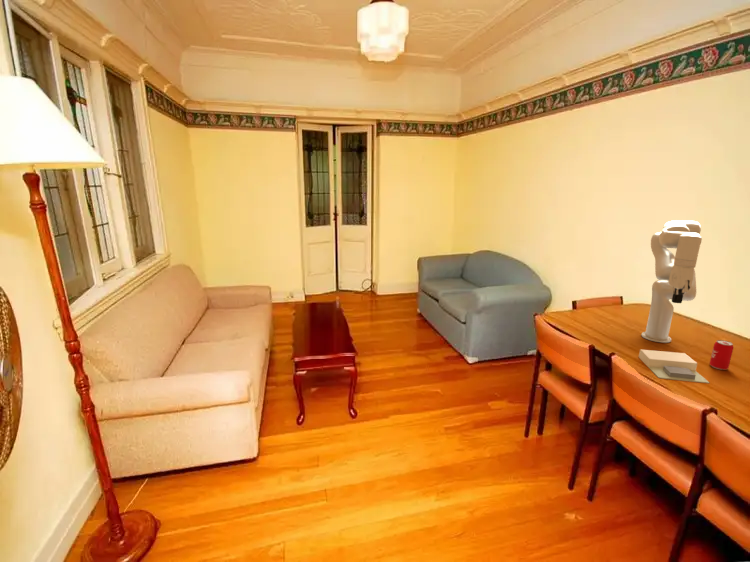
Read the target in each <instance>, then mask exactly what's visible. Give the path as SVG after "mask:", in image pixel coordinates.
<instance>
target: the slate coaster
mask: <svg viewBox="0 0 750 562" xmlns="http://www.w3.org/2000/svg"><path fill="white" fill-rule="evenodd" d="M663 371H664V372H665V373H666V374H667V375H668V376H669V377H676V378H685V379H695V376H696V375H695V374H694V373H693V372H692V371H690V370H689V369H688V368H679V367H669V366H664V367H663Z"/></svg>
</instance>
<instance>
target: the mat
mask: <svg viewBox="0 0 750 562" xmlns="http://www.w3.org/2000/svg"><path fill="white" fill-rule="evenodd" d="M647 367H648V366H647ZM648 369H649V370H650V371H651V372H652V373H653V374H654V375H655V376H656V377H657V378H658V379H665V380H673V381H683V382H692V383H693V382H694V383H703V384H710V382H709V381H708V380H707V379H706V378H705V377H704V376H702V375H701V374H700V373H699V372H697V370H696V371H692V372H693V373H694V374H695V375H696V376H695V379H685V378H676V377H669V376H668V375H667V374H666V373H665V372H664V371H663V368H657V367H648Z"/></svg>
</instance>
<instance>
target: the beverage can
mask: <svg viewBox="0 0 750 562" xmlns="http://www.w3.org/2000/svg"><path fill="white" fill-rule="evenodd" d="M733 352H734V344H733V343H732V342H731V341H729V340H724V339H723V340H722V339H718V340H716V341H715V343H714V344H713V348H712V353H711V356H710V360H709V365H710V366H711V367H712V368H714V369H715V370H724V371H725V370H728V369H729V367H730V364H731V363H730V362H731V359H732V356H733Z"/></svg>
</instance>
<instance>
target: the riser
mask: <svg viewBox="0 0 750 562" xmlns="http://www.w3.org/2000/svg"><path fill="white" fill-rule="evenodd" d="M638 358H639V359H640V361H642V363H644V365H646V367H657V368H663V367H664V366H669V367H679V368H688V369H689V370H690V371H696V372H697V367H698V362H697V361H695V360H694V359H692V357H690V356H689V355H687V354H686V353H685V352H674V351H662V350H661V351H660V350H653V349H652V350H650V349H639V354H638Z"/></svg>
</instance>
